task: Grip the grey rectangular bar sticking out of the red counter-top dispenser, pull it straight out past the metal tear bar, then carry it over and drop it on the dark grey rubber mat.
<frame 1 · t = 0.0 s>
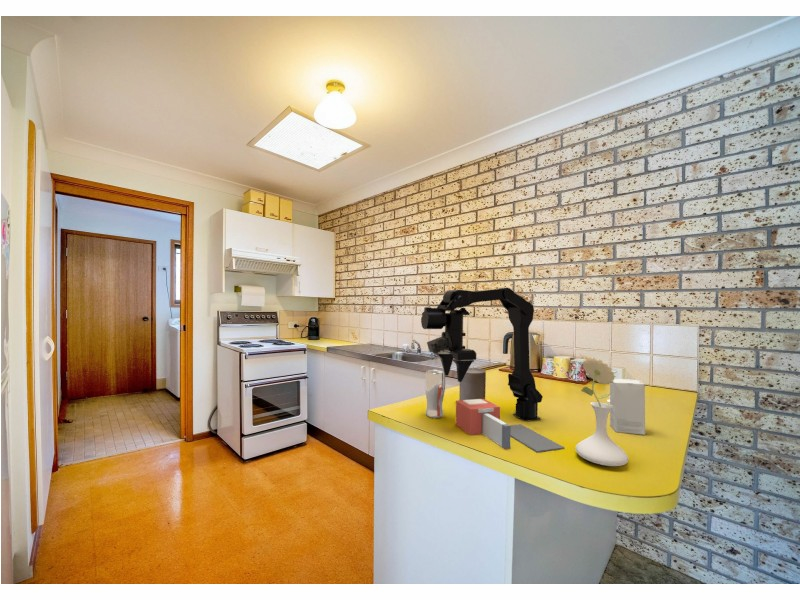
hand: (452, 378, 107), 15 cm above the table, tool pointing down, fingers open, 9 cm apart
mat: (528, 437, 97), on the table
flower in vase: (598, 459, 85), on the table
teacup and saucer: (623, 403, 138), on the table
skincare box: (626, 431, 105), on the table
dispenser: (477, 428, 104), on the table
beer glass: (434, 415, 116), on the table
pillar candle: (471, 407, 127), on the table
grey rectangular bar: (489, 436, 98), on the table
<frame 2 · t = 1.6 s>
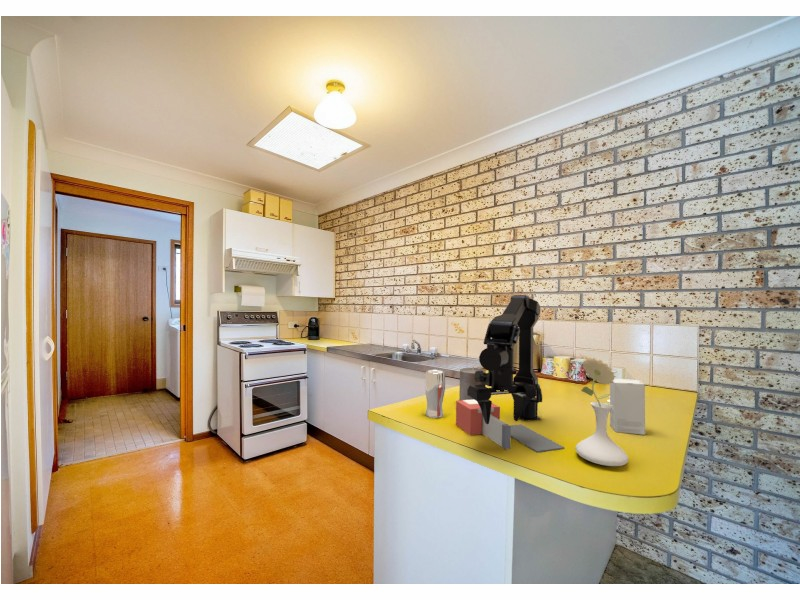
hand: (501, 422, 93), 6 cm above the table, tool pointing down, fingers open, 9 cm apart
nothing on the table moved.
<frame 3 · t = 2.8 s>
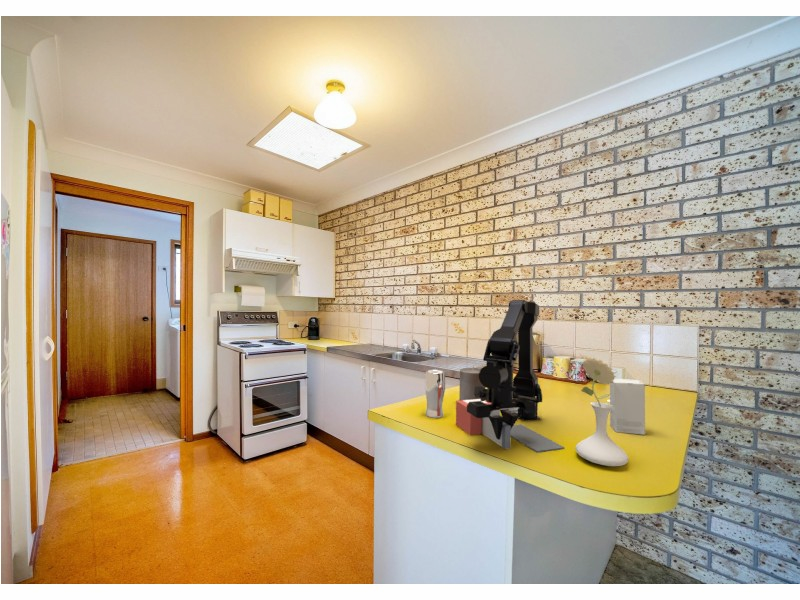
hand: (501, 438, 92), 2 cm above the table, tool pointing down, fingers closed on grey rectangular bar, 2 cm apart
grey rectangular bar: (489, 436, 98), on the table, touching gripper
everything else where it was.
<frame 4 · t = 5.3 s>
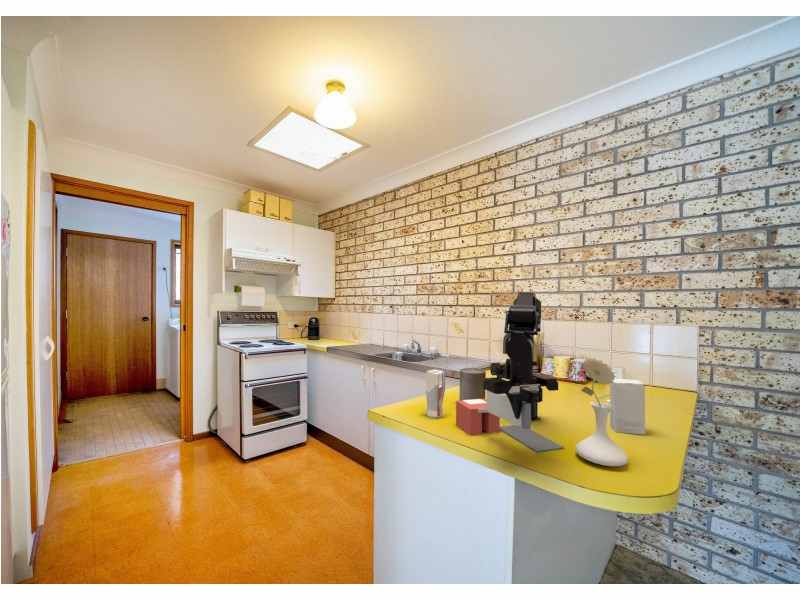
hand: (520, 418, 85), 10 cm above the table, tool pointing down, fingers closed on grey rectangular bar
grey rectangular bar: (507, 419, 90), point 8 cm above the table, touching gripper
everything else where it was.
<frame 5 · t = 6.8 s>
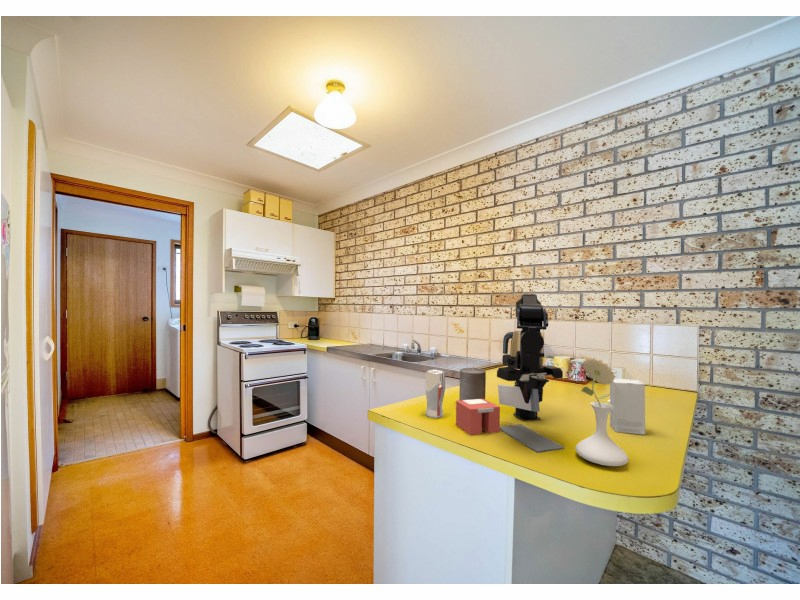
hand: (529, 402, 97), 10 cm above the table, tool pointing down, fingers closed on grey rectangular bar
grey rectangular bar: (517, 407, 101), point 8 cm above the table, tilted 9°, touching gripper
everything else where it was.
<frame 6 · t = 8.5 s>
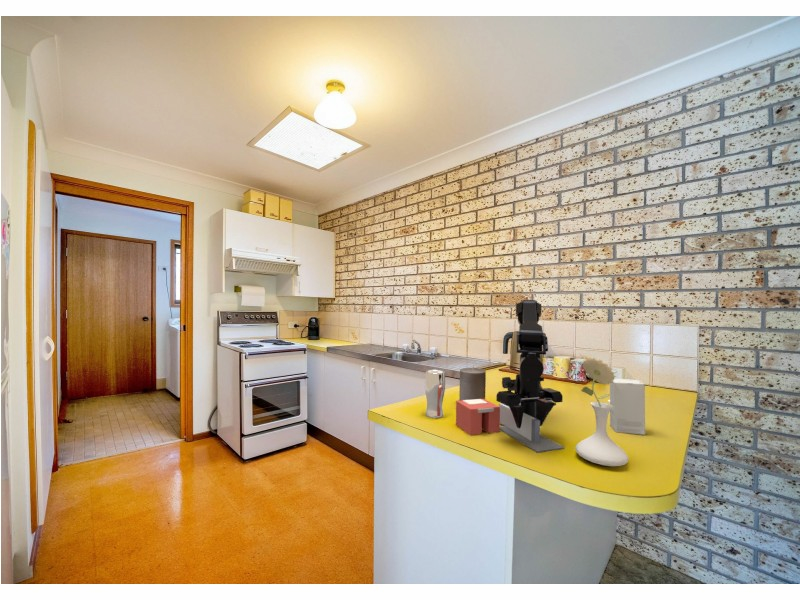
hand: (529, 426, 96), 4 cm above the table, tool pointing down, fingers open, 7 cm apart
grey rectangular bar: (517, 431, 101), on the table, touching mat
everything else where it was.
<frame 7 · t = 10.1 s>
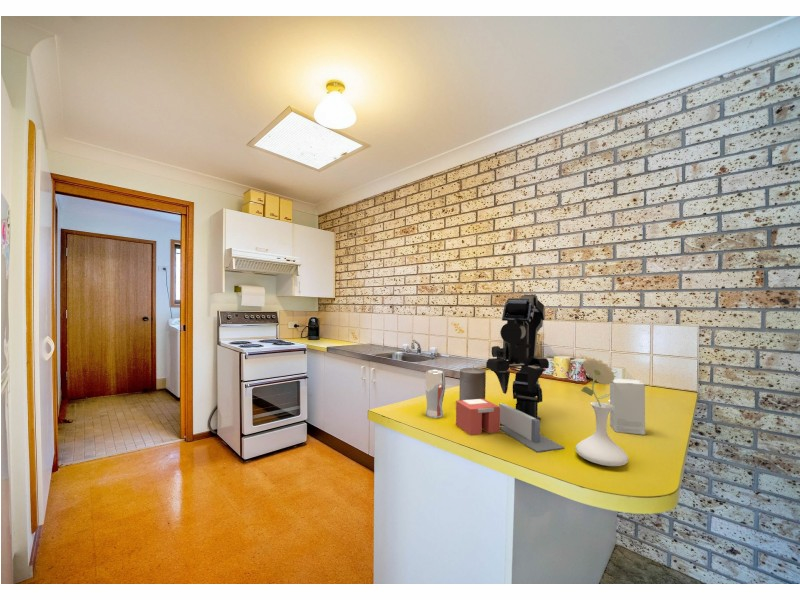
hand: (517, 392, 101), 12 cm above the table, tool pointing down, fingers open, 9 cm apart
nothing on the table moved.
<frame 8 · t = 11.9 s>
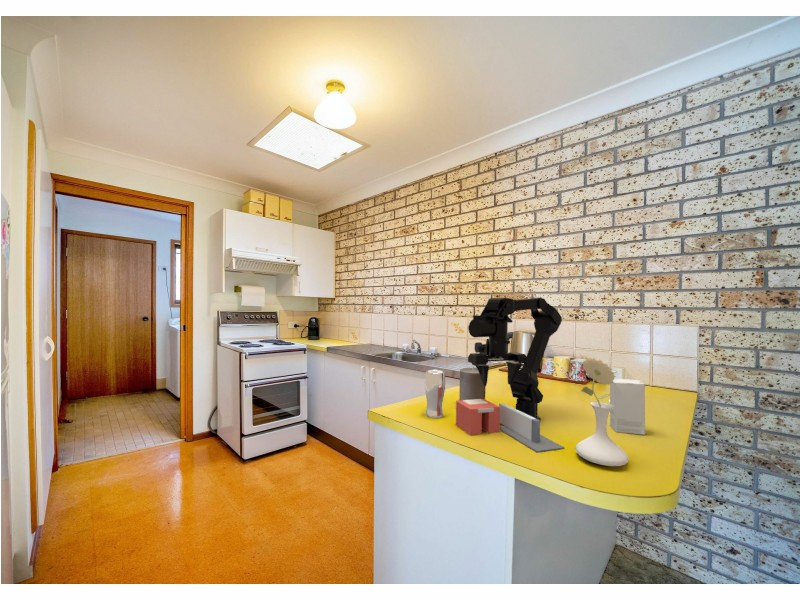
hand: (497, 385, 108), 13 cm above the table, tool pointing down, fingers open, 9 cm apart
nothing on the table moved.
at the end: grey rectangular bar inside the target area (4.5 cm from its centre), on the table; grey rectangular bar touching mat; the gripper is holding nothing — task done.
